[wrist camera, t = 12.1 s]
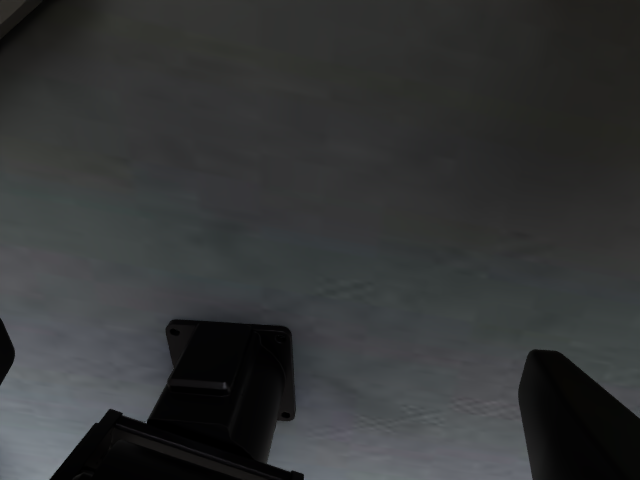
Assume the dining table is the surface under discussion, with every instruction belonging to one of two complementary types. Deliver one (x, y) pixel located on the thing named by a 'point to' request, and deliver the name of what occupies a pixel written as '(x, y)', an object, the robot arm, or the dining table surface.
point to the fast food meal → (14, 13)
